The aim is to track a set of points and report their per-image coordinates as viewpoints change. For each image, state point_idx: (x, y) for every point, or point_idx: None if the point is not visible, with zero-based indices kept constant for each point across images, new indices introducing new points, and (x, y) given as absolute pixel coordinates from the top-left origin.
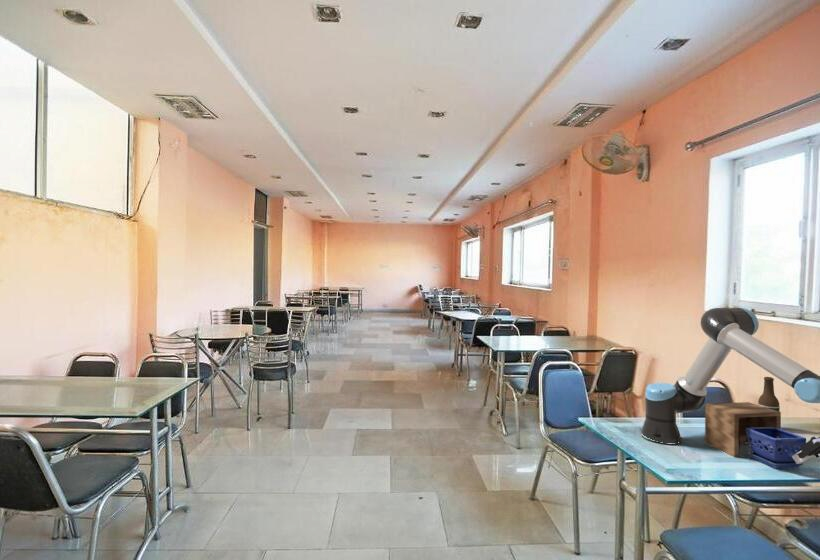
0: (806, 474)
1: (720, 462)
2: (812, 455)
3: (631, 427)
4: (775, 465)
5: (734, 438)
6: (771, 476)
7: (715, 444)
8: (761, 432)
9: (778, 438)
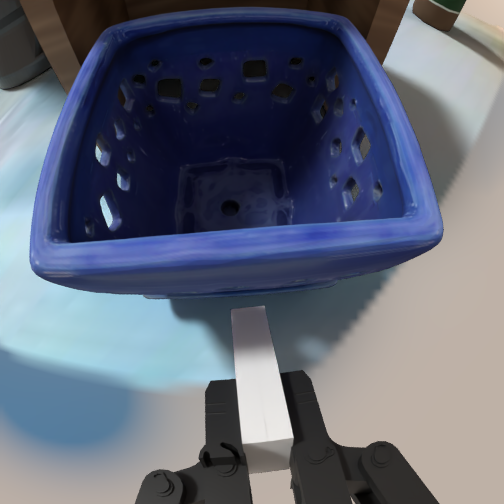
0: (287, 358)
1: (7, 209)
2: (279, 467)
3: None
4: (145, 297)
5: (65, 90)
6: (74, 366)
7: None
8: (233, 39)
9: None
